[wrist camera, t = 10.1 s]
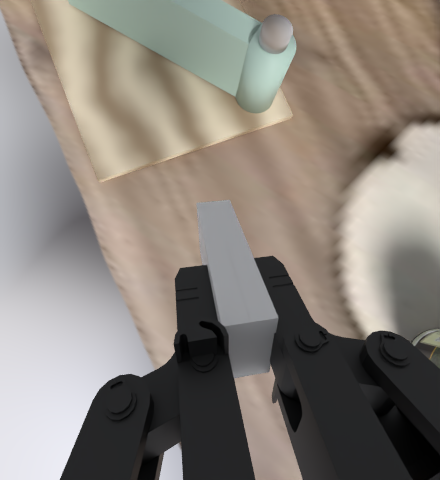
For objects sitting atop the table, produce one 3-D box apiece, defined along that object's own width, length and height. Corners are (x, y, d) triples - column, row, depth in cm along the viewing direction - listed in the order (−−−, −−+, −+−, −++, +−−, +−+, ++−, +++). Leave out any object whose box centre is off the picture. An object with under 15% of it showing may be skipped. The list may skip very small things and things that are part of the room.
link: (279, 90, 36) (303, 37, 28) (262, 120, 35) (283, 74, 27) (86, -18, 35) (58, -103, 28) (64, 9, 34) (28, -70, 27)
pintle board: (211, -51, 40) (220, -171, 29) (290, 118, 37) (331, 53, 26) (27, -12, 36) (-42, -135, 25) (99, 182, 33) (57, 135, 22)
